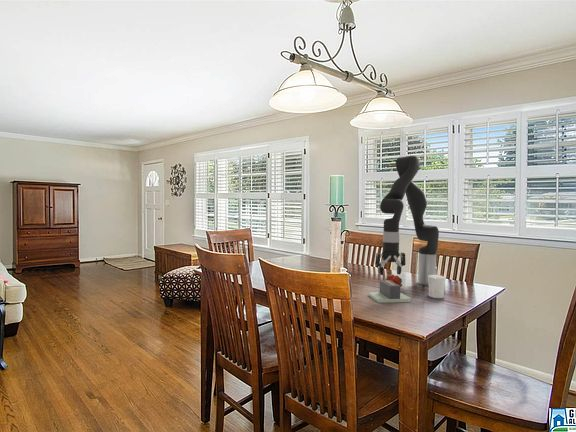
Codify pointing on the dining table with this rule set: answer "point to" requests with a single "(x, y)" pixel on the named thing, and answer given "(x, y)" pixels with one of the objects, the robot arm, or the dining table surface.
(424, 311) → the dining table surface
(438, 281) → the white cup
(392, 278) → the dragon fruit
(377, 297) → the board
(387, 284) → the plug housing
